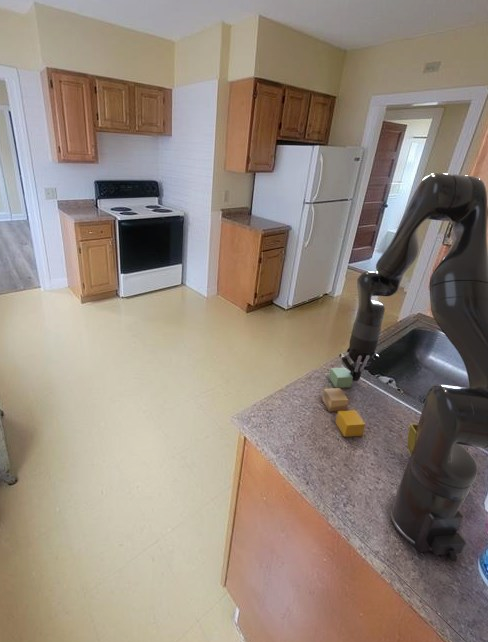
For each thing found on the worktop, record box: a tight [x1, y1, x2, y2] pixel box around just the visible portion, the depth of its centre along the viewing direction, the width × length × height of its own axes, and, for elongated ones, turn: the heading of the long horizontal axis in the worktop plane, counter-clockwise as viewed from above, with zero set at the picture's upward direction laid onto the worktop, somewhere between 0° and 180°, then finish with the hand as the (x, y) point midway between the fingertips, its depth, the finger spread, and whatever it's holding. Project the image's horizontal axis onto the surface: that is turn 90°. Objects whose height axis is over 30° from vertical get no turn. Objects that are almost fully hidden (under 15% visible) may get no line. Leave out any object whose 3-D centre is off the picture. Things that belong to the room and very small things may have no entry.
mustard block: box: [335, 409, 366, 438], centre depth 86 cm, size 5×5×4 cm
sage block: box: [328, 367, 353, 389], centre depth 104 cm, size 5×5×4 cm
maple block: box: [321, 387, 349, 412], centre depth 94 cm, size 5×5×4 cm
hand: (354, 379), depth 105 cm, fingers closed
